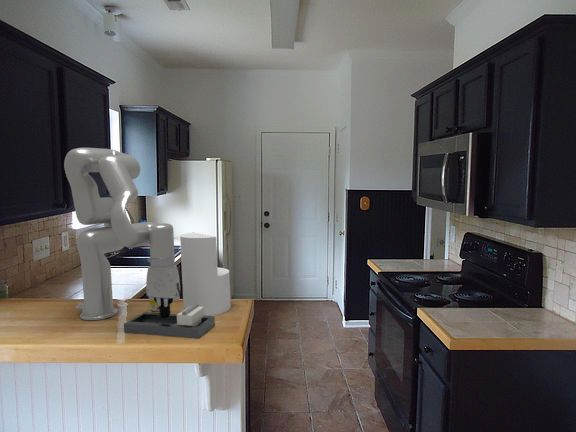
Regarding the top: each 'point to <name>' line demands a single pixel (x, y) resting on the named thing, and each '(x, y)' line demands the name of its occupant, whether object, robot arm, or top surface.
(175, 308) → the top surface
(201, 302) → the cylinder
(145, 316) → the dark grey tray
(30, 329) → the top surface
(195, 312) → the slider knob
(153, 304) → the supplement bottle
